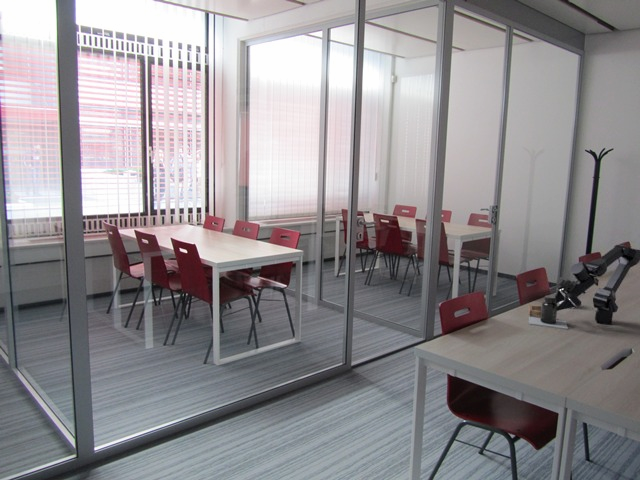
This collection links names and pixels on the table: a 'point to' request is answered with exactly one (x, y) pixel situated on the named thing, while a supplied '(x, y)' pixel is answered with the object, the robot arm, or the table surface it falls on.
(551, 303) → the supplement bottle
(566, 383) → the table surface
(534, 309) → the tan wooden bay
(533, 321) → the slate mat
